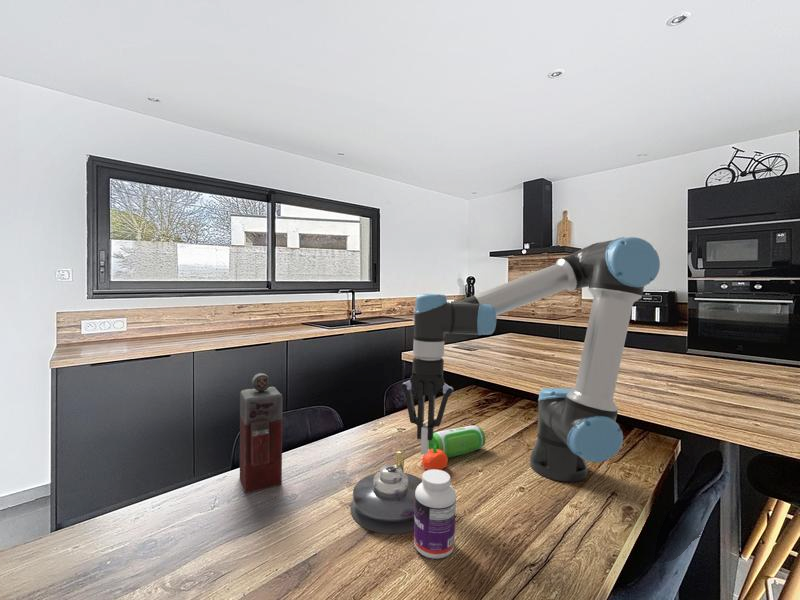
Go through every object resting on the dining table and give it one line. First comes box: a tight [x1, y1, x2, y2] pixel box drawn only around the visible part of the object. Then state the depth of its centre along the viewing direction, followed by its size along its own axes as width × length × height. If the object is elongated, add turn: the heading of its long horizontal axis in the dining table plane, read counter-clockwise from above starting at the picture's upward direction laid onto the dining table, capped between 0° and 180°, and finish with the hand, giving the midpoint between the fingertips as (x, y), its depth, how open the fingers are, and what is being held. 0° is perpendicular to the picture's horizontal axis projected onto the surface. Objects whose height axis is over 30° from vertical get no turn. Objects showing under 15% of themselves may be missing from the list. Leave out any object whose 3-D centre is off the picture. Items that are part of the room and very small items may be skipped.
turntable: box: [352, 449, 422, 524], centre depth 87 cm, size 18×18×8 cm
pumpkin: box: [421, 446, 449, 471], centre depth 106 cm, size 7×8×6 cm
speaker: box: [428, 425, 486, 458], centre depth 117 cm, size 18×7×8 cm, turn 117°
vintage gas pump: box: [239, 372, 284, 494], centre depth 97 cm, size 9×11×28 cm
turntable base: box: [350, 500, 414, 535], centre depth 88 cm, size 19×19×2 cm
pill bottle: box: [413, 469, 457, 560], centre depth 74 cm, size 8×8×14 cm
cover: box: [373, 463, 408, 501], centre depth 88 cm, size 8×8×5 cm
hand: (424, 451), depth 93 cm, fingers closed
